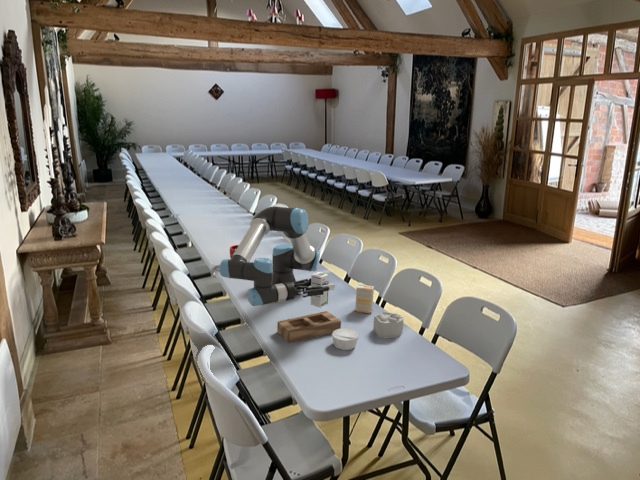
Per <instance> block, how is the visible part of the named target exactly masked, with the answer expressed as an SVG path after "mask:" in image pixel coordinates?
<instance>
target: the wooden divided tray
mask: <svg viewBox="0 0 640 480" xmlns="http://www.w3.org/2000/svg"><path fill="white" fill-rule="evenodd" d="M341 328H342V321H341V319H339V318H338V317H336V316H335V315H333V314H332V313H331V312H330V311H328V310H326V311H320V312H316V313H311V314H308V315H307V314H306V315H302V316H298V317H293V318H290V319H289V318H288V319H284V320H280V321H277V331H276V333H277V334H279V335H280V336H281V337H282V338H283V339H284V340H286V341H287V342H288V343H289V344H294V343H297V342H302V341H306V340H309V339H314V338H318V337H321V336H325V335H328V334H332V333H333V332H334V331H335V330H337V329H341Z"/></svg>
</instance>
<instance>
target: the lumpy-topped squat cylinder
mask: <svg viewBox="0 0 640 480" xmlns="http://www.w3.org/2000/svg"><path fill="white" fill-rule="evenodd" d="M404 320H405V319H404V316H403V315H401V314H398V313H397V312H389V311H388V310H385V311H382V313H377V314H375V315H374V319H373V328H372V331H373V333H375V334H376V336H377V337H379V338H383V339H389V338H397V337H399V336H402V334H403V328H404Z"/></svg>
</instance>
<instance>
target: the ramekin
mask: <svg viewBox="0 0 640 480" xmlns="http://www.w3.org/2000/svg"><path fill="white" fill-rule="evenodd" d="M331 338H332V343H333V345H334V347H335V348H336V349H339V350H342V351H350V350H354V348H355V347H356V345H357V342H358V339H359V334H358V332H357V331H355V330H354V329H351V328H346V327H345V328H342V327H341V329H337V330H335V331H334V332H333V333H331Z"/></svg>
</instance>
